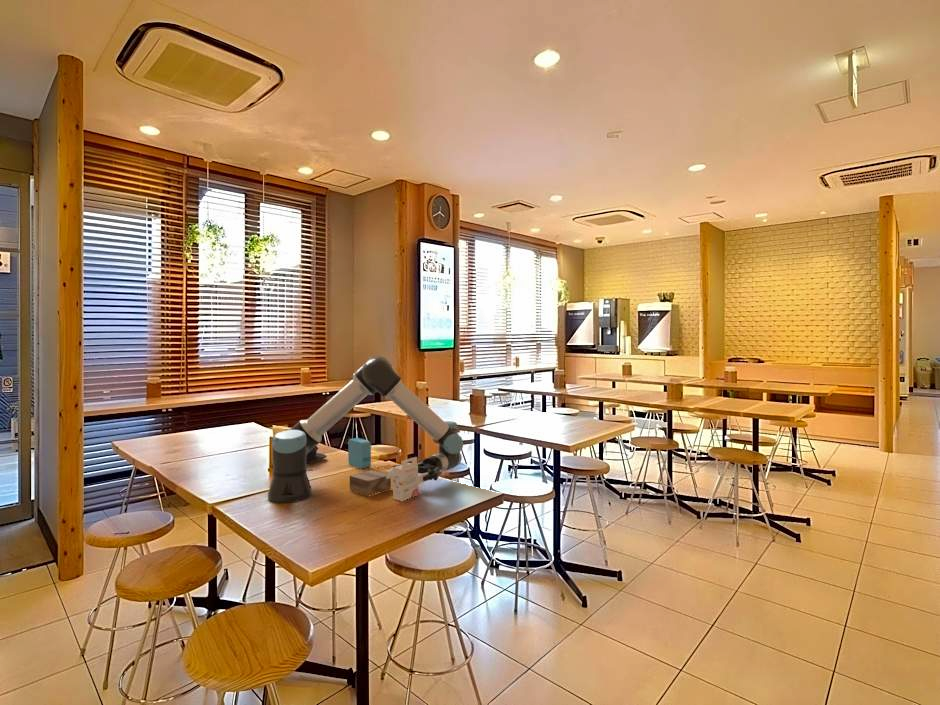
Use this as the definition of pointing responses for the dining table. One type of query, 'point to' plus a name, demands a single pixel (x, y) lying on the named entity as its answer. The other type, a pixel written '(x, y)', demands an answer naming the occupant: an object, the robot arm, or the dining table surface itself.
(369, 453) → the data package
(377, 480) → the walnut block
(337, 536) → the dining table surface
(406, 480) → the ink cartridge box
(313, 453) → the casserole
